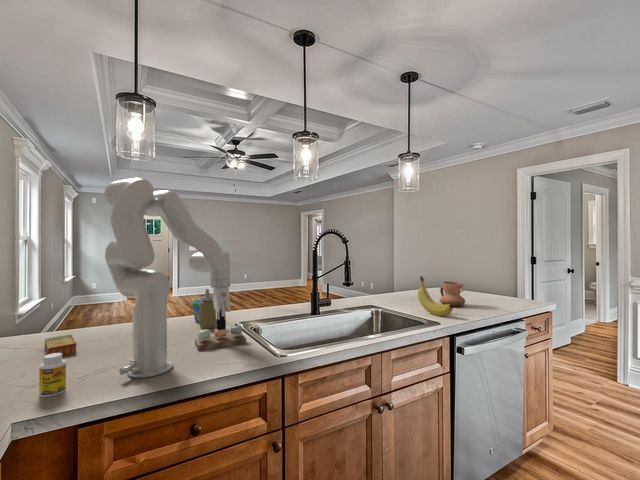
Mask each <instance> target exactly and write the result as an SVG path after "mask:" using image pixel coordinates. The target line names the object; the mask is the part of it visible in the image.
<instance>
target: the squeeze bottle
mask: <svg viewBox="0 0 640 480" xmlns="http://www.w3.org/2000/svg"><path fill="white" fill-rule="evenodd" d="M201 299H202V302H201V303H200V309H199V319H198V321H199V322H198V324H199V326H200V329H201V330H204V329H208V330H210V329H212V328H213V329H214V327H215V324H216V323H217V312H216V311H215V310H214V304H213V301H212V300H213V296H211V293H210V290H209V289H208V288H206V289H205V291H204V296H202V297H201Z"/></svg>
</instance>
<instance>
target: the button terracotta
mask: <svg viewBox="0 0 640 480" xmlns="http://www.w3.org/2000/svg"><path fill="white" fill-rule="evenodd" d="M226 335H227V328H226V329H222V330H217V328H215V329H214V336H215V337H224V336H226Z"/></svg>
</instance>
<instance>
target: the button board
mask: <svg viewBox="0 0 640 480" xmlns="http://www.w3.org/2000/svg"><path fill="white" fill-rule="evenodd" d="M245 344H247V338H246V337H245V335H243V333H240V334H231V333H229V334H227V333H226V336H224V337H215V335H213V336H210V337H209V338H206V339H199V338H198V337H197V338H195V339H194V345H195V347H196V349H197V351H198V352H200V351H206V350H213V349H218V348H219V349H220V348H225V347H230V346H231V347H232V346H238V345H245Z"/></svg>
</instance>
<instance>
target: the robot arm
mask: <svg viewBox="0 0 640 480" xmlns="http://www.w3.org/2000/svg"><path fill="white" fill-rule="evenodd" d="M104 199H105V200H106V202H107V203H108V204H109V205H111V206H112V211H111V215H110V224H111V229H112V231H113V235H114V238H115V239H113V240H111V241H110V242H109V243H108V244H107V246H106V248H105V251H104V253H105V254H104V258H105V263H106V265H107V267H108V270H109V273H110V275H111V277H112V280H113V282H114V284H115V286H116V289H117V291H118V292H119V293H120V294H121V295H122V296H124V297H126V298H131V299H136V302H135V305H134V308H133V312H132V359H130V360H129V364H128V365H127V366H126V365H125V366H124V367H121V368H119V372H118V373H119V374H120V375H122V376H124V375H126V374H127V376H129V377H131V378H136V379H137V378H139V379H141V378H151V377H156V376H159V375H162V374H164V373H166V372H168V371H170V370H171V369H172V368H173V361H171V360H169V359H168V328H167V327H168V317H167V316H168V314H167V312H168V299H169V294H170V289H171V283H170V282H171V281H170V279H169V277H168V276H167V274H165V273H163V272H162V271H160V270H156V269H148V268H147V267H149V266H151V265H152V264H153V263H154V261H155V258H156V257H155V255H156V254H155V250H154V247H153V243H152V241H151V239H150V235H149V233H148V230H147V227H146V223H145V216H149V217H160V218H161V219H162V221H163V222H164V224H165V225H166V227H167V228H168V230H169V231H170V233H171V235H172V236H173V237H174V239H176V240H178V241H179V242H181V243H183V244H186V245H188V246H190V247H192V248H194V249H195V250H197V251H198V252H195V253H193V254H192V255H191V256H190V257H189V258H188V265H189V268H190V269H191V270H193V271H195V272H198V273H210V275H209V276H210V288H212V289H213V293H212V294H213V296H212V300H213V304H214V310H215V311H216V329H217V330H222V329H226V330H227V328H226V327H227V326H226V325H227V323H226V322H227V320H226V317H227V316H226V314H227V313H230V312H231V301H230V300H231V298H230V297H231V296H230V288H229V287H231V255H230V253H229V252H227V251H223V250H222V248H221V247H220V245H219V243H218V242H217V241H216V239H214V238H213V237H212V236H211V235H210V234H209V233H207V232H206V231H205V230H204V229H202V228H201V227H199V225H197V224H196V222H195V220H194V219H193V217H192V216H191V214H190V212H189V210H188V209H187V207H186V205H185V203H184V202H183V200H182V199H181V197H180V196H179V195H178V194H177V192H175V191H173V190H170V189H168V190H167V189H165V190H156V191H155V190H154V187H153V184H152V183H151V182H150V181H149V180H148V179H146V178H142V177H133V178H132V177H131V178H126V179H120V180H116V181H112V182H110V183H109V184H108V185H107V186H106V187H105V189H104ZM145 268H147V269H145ZM226 312H227V313H226Z"/></svg>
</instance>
